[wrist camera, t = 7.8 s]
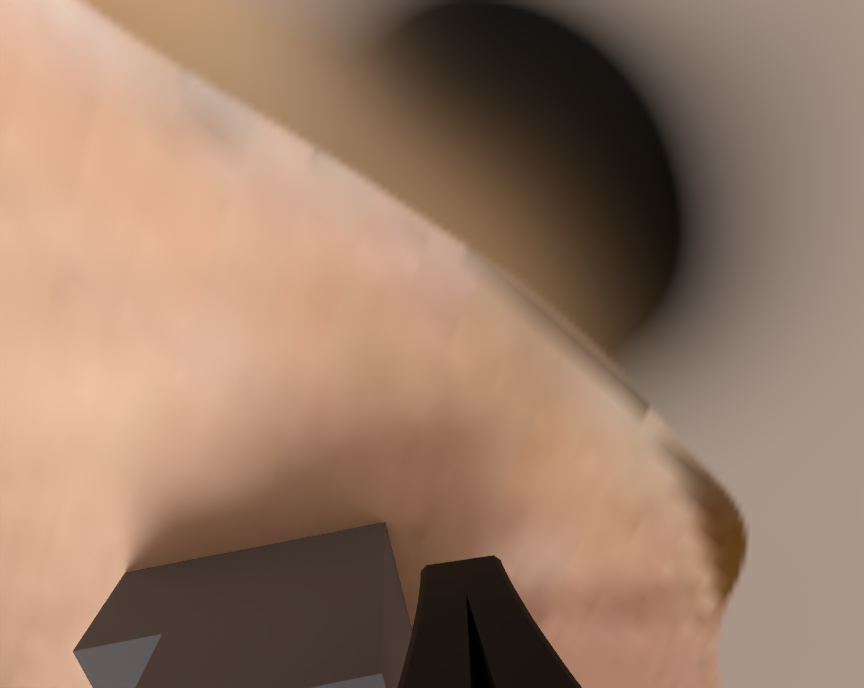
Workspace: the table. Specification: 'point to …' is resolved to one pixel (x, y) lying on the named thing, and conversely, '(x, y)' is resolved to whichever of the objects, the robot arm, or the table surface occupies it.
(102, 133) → the table surface
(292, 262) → the table surface
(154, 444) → the table surface
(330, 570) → the dark grey block
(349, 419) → the table surface
